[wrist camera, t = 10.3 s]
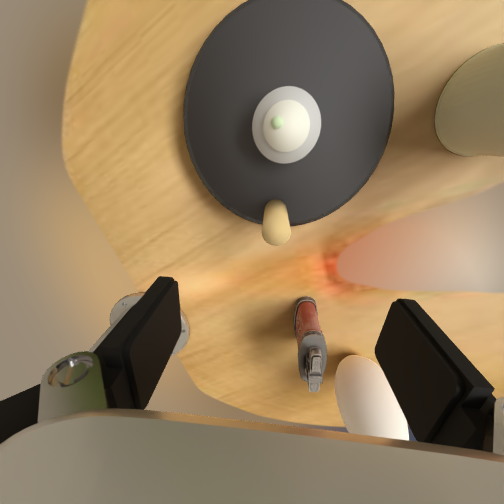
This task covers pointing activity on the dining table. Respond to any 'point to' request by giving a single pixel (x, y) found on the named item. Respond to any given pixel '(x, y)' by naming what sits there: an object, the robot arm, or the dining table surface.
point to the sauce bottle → (368, 400)
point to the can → (474, 106)
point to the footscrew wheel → (289, 110)
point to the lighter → (310, 343)
